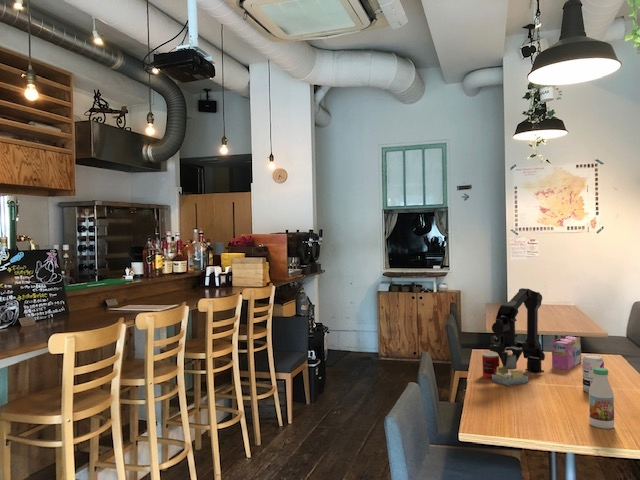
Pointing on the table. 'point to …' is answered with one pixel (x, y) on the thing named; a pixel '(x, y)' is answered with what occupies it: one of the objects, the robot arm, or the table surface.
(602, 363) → the supplement can
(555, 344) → the pink drink carton pack
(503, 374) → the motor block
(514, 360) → the grey rounded piece
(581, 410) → the table surface
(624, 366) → the table surface
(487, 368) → the canned food
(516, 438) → the table surface
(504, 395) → the table surface
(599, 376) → the milk bottle
